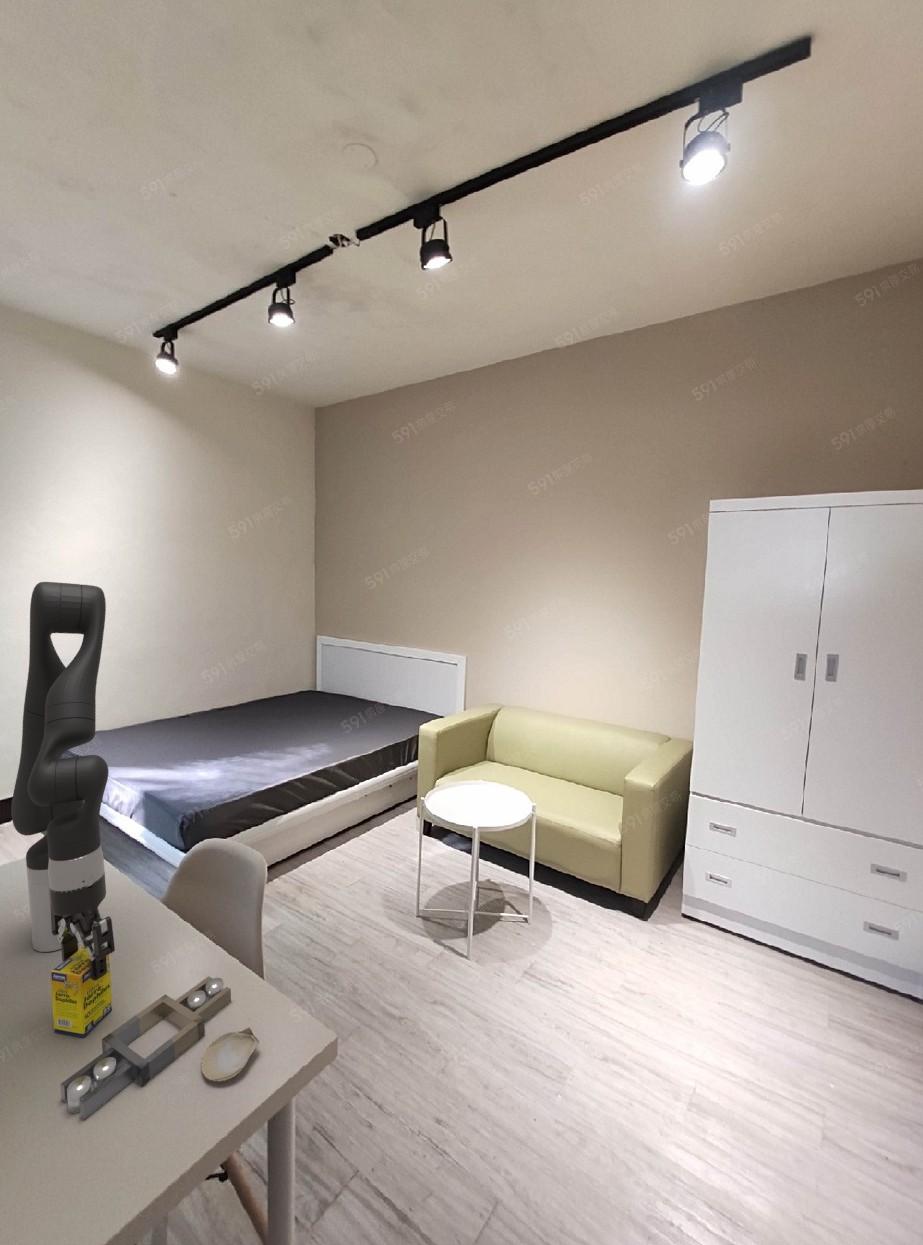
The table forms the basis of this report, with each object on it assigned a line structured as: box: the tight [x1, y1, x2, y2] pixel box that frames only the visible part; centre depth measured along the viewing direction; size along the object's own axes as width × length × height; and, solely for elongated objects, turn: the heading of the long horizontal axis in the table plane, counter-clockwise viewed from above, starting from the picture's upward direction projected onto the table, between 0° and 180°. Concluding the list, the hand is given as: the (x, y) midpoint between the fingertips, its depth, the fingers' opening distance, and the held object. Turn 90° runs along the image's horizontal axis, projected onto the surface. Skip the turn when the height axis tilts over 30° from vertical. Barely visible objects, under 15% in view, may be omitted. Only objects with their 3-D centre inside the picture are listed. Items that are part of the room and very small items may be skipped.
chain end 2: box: [134, 976, 232, 1061], centre depth 93 cm, size 10×12×3 cm
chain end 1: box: [60, 1015, 176, 1121], centre depth 83 cm, size 10×12×3 cm
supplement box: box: [50, 947, 113, 1039], centre depth 92 cm, size 6×6×11 cm
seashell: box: [200, 1027, 260, 1083], centre depth 85 cm, size 8×3×8 cm
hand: (84, 968), depth 92 cm, fingers open, 8 cm apart
